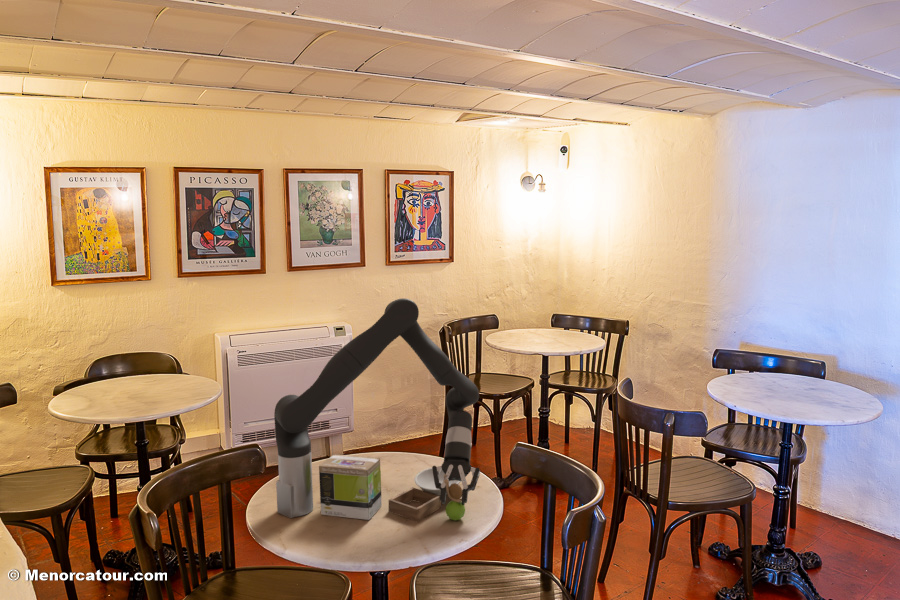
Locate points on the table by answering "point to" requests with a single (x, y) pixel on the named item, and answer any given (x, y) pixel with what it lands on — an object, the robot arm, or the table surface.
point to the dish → (430, 481)
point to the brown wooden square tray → (401, 508)
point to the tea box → (350, 486)
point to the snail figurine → (454, 501)
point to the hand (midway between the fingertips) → (453, 503)
